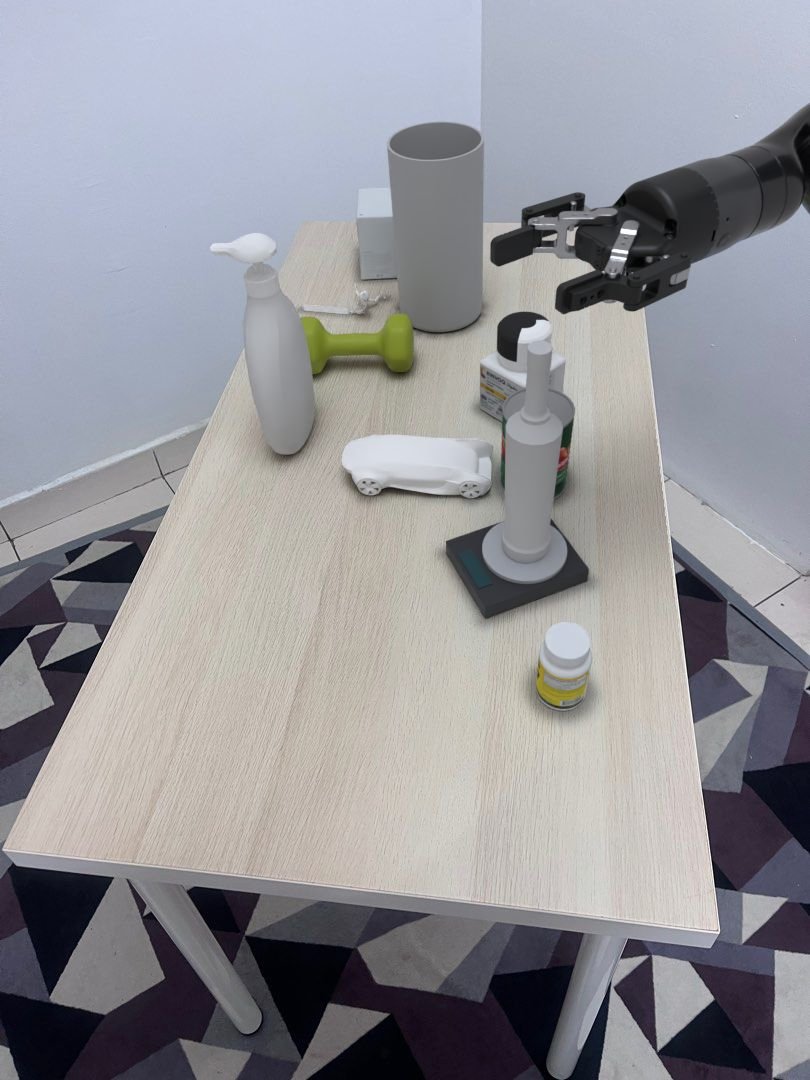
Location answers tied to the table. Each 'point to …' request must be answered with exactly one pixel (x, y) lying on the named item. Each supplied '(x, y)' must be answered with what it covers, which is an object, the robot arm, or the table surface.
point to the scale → (512, 569)
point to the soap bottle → (273, 348)
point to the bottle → (531, 464)
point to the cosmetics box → (376, 233)
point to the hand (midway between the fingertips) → (524, 276)
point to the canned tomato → (565, 413)
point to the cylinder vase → (438, 222)
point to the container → (515, 360)
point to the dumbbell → (362, 343)
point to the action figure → (340, 310)
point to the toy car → (420, 464)
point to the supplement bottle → (564, 666)
